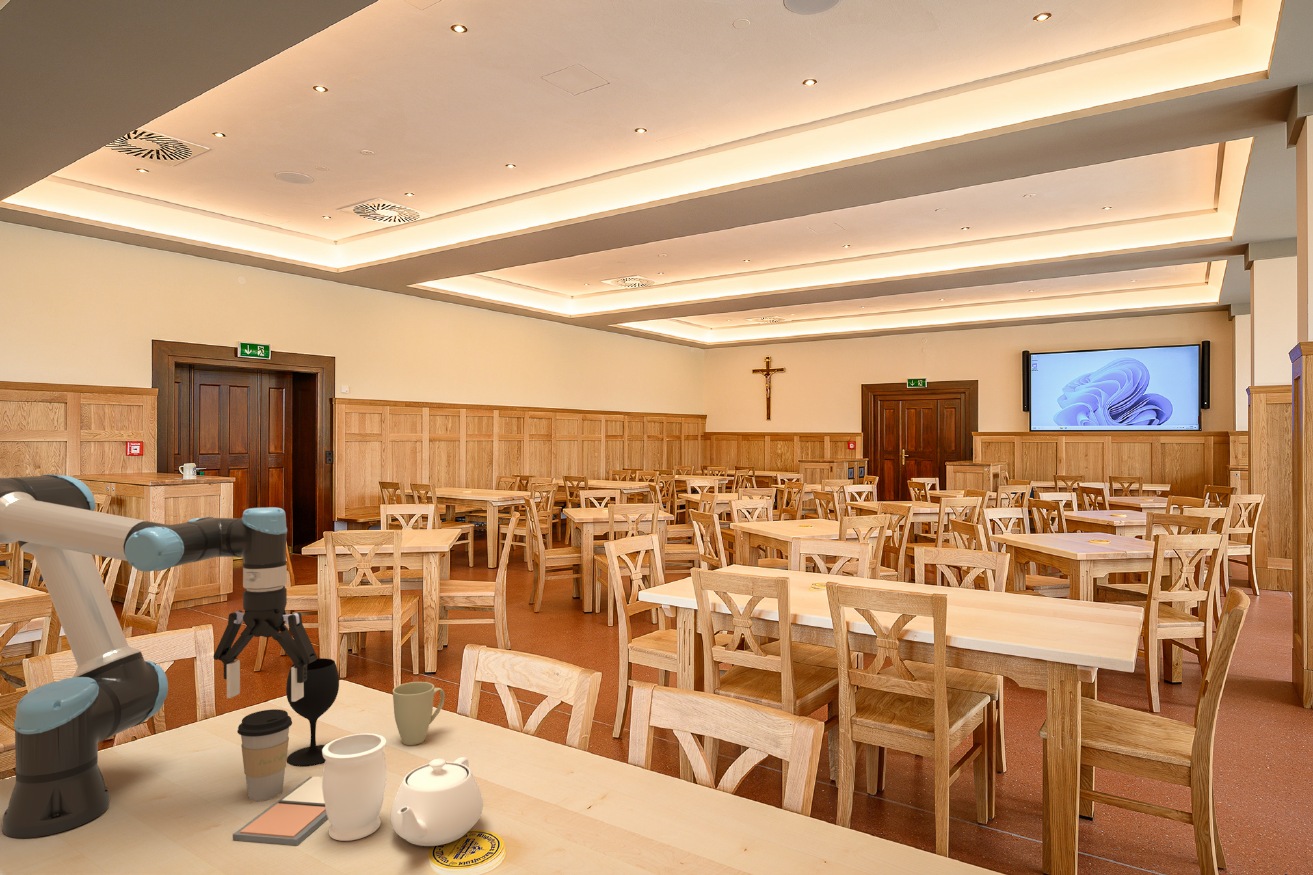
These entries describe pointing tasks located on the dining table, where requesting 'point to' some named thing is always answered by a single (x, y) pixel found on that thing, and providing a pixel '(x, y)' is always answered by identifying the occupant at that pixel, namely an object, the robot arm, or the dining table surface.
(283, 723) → the coffee cup
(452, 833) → the teapot
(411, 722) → the mug
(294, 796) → the makeup palette
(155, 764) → the dining table surface
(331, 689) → the wine glass
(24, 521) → the robot arm
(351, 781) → the jar
